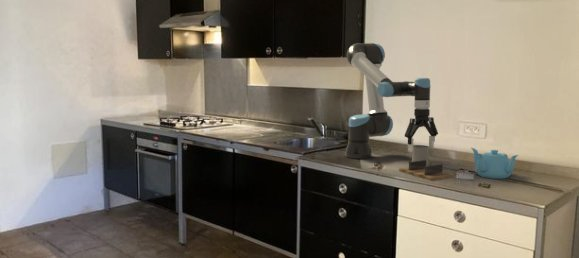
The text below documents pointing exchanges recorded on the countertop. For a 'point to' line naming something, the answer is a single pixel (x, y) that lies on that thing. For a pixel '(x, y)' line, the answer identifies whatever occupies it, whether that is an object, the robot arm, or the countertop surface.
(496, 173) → the teapot
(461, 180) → the countertop surface
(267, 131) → the countertop surface
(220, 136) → the countertop surface
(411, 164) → the end holder
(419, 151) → the cup
